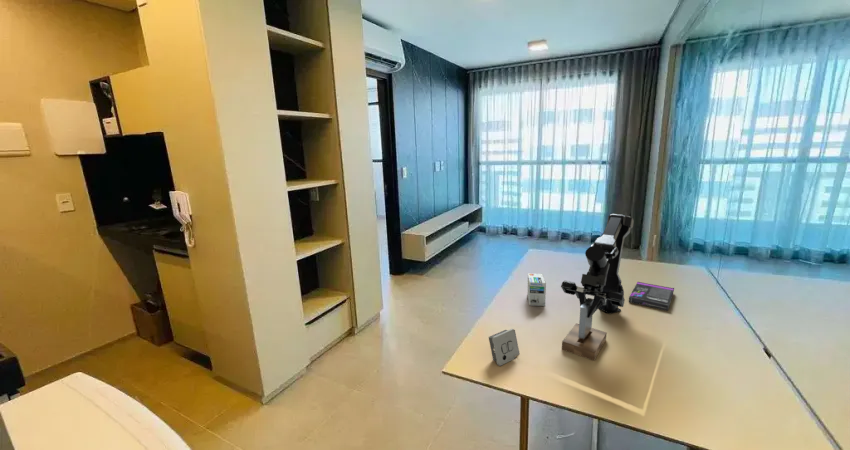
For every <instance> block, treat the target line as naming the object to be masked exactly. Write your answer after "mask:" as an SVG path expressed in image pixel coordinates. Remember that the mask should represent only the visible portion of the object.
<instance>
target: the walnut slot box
mask: <svg viewBox="0 0 850 450" xmlns="http://www.w3.org/2000/svg"><path fill="white" fill-rule="evenodd" d="M607 334H608V332H606V331H605V330H604V331H603V330H600V329H596V328H593V327H592V328H591V330H590V331H589V333H588V334H587V336H586V337H585V339H582V338H579V337H578V335H579V323H575V324H574V325H573V326H572V328H571V329H570V330H569V332H568V333H567V334H566V336H565V337H564V338H563V340H561V350H563V351H566V352H569V353H571V354H574V355H577V356H580V357H583V358H586V359H587V360H591V361H595V360H596V358H597V357H598V355H599V353H600V351H601V350H602V348H603V346H604V344H605V343H606V341H607Z"/></svg>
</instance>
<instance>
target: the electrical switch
mask: <svg viewBox="0 0 850 450" xmlns="http://www.w3.org/2000/svg"><path fill="white" fill-rule="evenodd" d="M488 341H489V347H490V352H491V356H492V361H495V362H496V365H497V366H503V365H504V364H505V365H506V364H508V363H509V362H511V361H513V360H515V359H517V357H516V356H518V355H520V349H519V345H518V344H519V343H518V339H517V333H516V330H515V328H510V329H508V330H507V329H504V330H502V331H499V332H497V333H495V334H492V335H490V336H488Z"/></svg>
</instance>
